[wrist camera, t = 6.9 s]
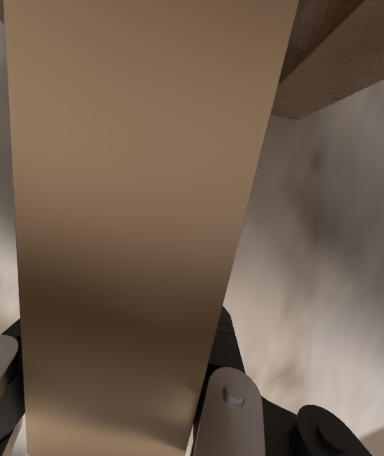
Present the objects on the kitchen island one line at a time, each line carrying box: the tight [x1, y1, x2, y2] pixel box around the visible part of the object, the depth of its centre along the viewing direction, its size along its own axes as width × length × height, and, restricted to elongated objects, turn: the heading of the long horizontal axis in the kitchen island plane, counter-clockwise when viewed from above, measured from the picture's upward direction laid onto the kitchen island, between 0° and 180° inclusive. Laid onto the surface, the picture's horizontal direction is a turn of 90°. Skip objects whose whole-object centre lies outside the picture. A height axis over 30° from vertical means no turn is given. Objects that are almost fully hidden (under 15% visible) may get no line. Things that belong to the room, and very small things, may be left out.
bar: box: [3, 0, 299, 456], centre depth 5 cm, size 18×4×5 cm, turn 170°
